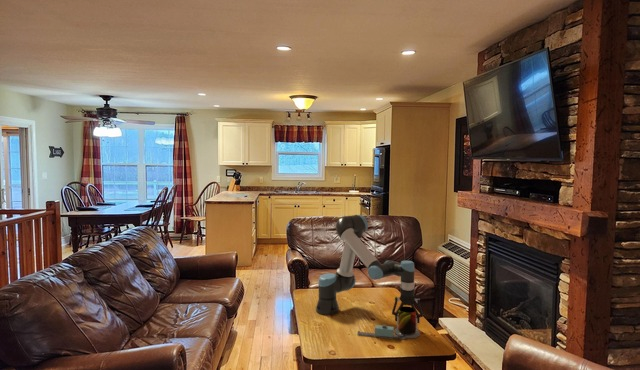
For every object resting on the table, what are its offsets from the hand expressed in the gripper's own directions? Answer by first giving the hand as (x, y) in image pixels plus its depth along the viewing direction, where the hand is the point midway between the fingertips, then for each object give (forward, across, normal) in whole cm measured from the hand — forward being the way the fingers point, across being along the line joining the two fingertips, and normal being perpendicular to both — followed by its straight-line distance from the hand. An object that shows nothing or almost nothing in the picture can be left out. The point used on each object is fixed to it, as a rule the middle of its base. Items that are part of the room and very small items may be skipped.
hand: (407, 327), depth 213 cm
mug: (+1, -1, +1) cm, 2 cm away
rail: (+3, -14, -8) cm, 16 cm away
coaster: (+3, 0, 0) cm, 3 cm away
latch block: (+2, -12, -8) cm, 15 cm away
